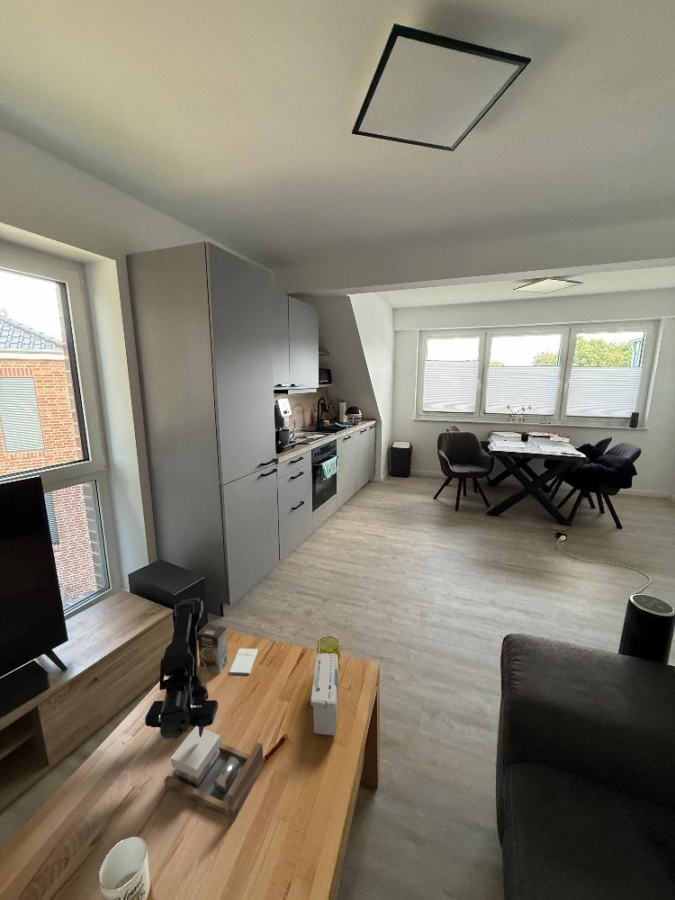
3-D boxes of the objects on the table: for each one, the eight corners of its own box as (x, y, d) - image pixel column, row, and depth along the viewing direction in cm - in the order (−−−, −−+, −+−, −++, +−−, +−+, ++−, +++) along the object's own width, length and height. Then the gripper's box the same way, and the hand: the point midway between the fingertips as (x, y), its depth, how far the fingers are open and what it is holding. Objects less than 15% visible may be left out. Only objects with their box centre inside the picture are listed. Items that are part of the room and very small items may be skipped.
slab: (171, 766, 100) (170, 757, 99) (197, 733, 109) (196, 725, 108) (197, 778, 97) (196, 769, 96) (221, 743, 106) (220, 735, 105)
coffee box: (199, 669, 140) (196, 633, 136) (209, 657, 146) (206, 622, 142) (219, 674, 137) (216, 637, 134) (229, 662, 143) (226, 626, 140)
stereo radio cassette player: (336, 738, 112) (336, 684, 109) (310, 737, 113) (309, 684, 109) (338, 683, 133) (338, 636, 129) (316, 682, 133) (316, 635, 129)
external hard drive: (228, 675, 137) (239, 651, 150) (249, 676, 137) (258, 651, 149) (228, 672, 137) (238, 648, 149) (249, 672, 137) (258, 648, 149)
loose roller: (213, 789, 98) (213, 777, 97) (228, 765, 104) (228, 754, 103) (225, 795, 97) (225, 784, 96) (240, 771, 103) (240, 760, 102)
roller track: (165, 786, 99) (162, 763, 98) (200, 740, 112) (198, 718, 111) (234, 821, 91) (232, 796, 90) (263, 766, 104) (262, 744, 103)
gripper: (130, 719, 92) (138, 766, 96) (203, 718, 93) (207, 765, 96) (152, 682, 103) (158, 726, 107) (216, 681, 103) (220, 725, 107)
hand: (185, 735), depth 104 cm, fingers open, 9 cm apart
